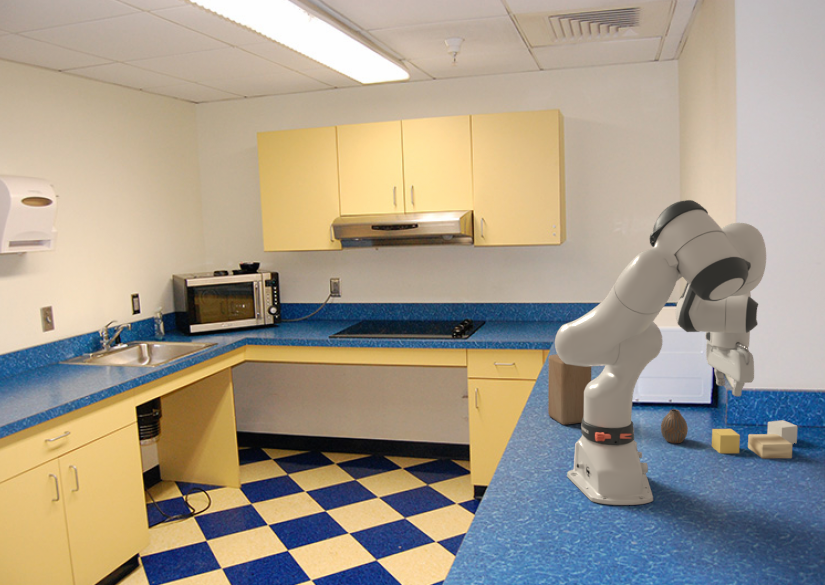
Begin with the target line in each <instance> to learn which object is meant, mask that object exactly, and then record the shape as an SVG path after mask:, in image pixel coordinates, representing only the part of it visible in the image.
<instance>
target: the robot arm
mask: <svg viewBox="0 0 825 585" xmlns="http://www.w3.org/2000/svg"><path fill="white" fill-rule="evenodd" d="M652 228H653V229H652V232H650V235H649V244H650V246H651V247H652V248H650V249H646V250H643V251H642V252H641V251H640V252H639V253H637V255H636V256H635V257H633V258H632V259H631V261H630V262H628V263H627V265H626V266H625V267H624V269H622V271H621V272H620V274H619V275H618V277H617V278H616V281H615V282H614V284H613V285H612V287H611V289H610V290H609V292H608V293H607V294H606V297H605V298H604V299H603V300H602V301H601V302H600V303H599V304H598V305H596V306H595V307H594V308H593V309H591V310H589V311H588V312H587V313H585V314H584V315H582V316H580V317H578V318H576V319H575V320H573V321H569V322H567V323H564V324H562V325H561V326H560V328H559V329H558V330H557V333H556V335H555V339H554V348H555V351H556V354H558V356H559V357H560V359H561V360H562V361H563V362H564V363H565V364H569V365H575V366H583V367H589V366H591V367H602V366H604V368H603V370H602V371H600V372H601V373H600V374H599V375H598V376H597V377H595V378H594V379H591V381H590V382H589V383H588V384H587V386H586V388H585V390H584V417H583V418H582V423H580V424H581V425H580V428H581V429H580V430H581V431H580V432H581V434H582V435H581V436H580V438H579V439H578V440H577V441H576V442H575V444H574V445H575V446H574V460H573V469H571V470H568V471H567V475H566V476H567V478H568V479H569V480H570V481H571V482H572V483H573V484H574V485H575V486H576V487H577V488H578V489H579V490H580V491H581V492H582V493H583V495H585V496H586V498H588V499H589V500H590V501H591V502H593V503H598V504H603V505H613V506H629V505H630V506H634V505H644V504H648V503H651V502H653V501H654V496H653V492H652V490H651V489H652V488H651V486H650V483H649V480H648V476H647V474H648V473H649V472H648V471H649V469H648V468H649V466H648V462H643V461H642V462H641V459H642V458H643V452H642V451H638V443H637V441H636V440H635V428H634V423H633V420H632V415H633V414H632V409H633V398H634V397H633V396H634V390H635V388H636V384H637V382H638V380H639V377H640V376H641V374H642V373H643V371H644V370H645V368H646V367H647V366H648V365H649V364H650V363H651V362H652V361H653V360H654V359H656V358H657V357H658V356H659V354H660V352H661V350H662V347H663V342H664V341H663V335H662V332H661V330H660V328H659V326H658V325H657V324H656V323H655V322H654V321H655V319H656V318H657V317H658V315H659V313H660V312H662V309H663V308H664V307H665V305H666V304H667V302H668V301H669V299H670V297H671V295H672V293H673V291H674V289H675V287H676V283H677V282H678V281H679V280H680V279H681V278H683V279H684V280H685V281H686V284H685V286H684V289H683V292H682V295H681V296H680V297H679V299H678V301H677V304H676V307H675V319H676V322H677V323H676V324H677V325H678V326H679V327H680V328H681V329H682V330H684V331H685V332H686V333H700V332H701V333H703V332H705V334H704V338H705V340H706V344H705V345H706V346H705V347H706V350H705V351H706V352H705V354H706V362H707V364H708V366H710V367H712V368H714V375H715V380H716V381H715V384H716V385H717V386H719V387H724V386H725V385H726V379H725V375H726V376H728V377H729V378H731V379H732V380H733V383H734V384H733V387H731V394H732V395H733V396H735V397H741V396H742V392H743V391H742V390H743V388H744V386H745V384H746V383H747V384H748V383H753V382H754V379H755V361H754V355H753V353H751V351H750V350H749V348H750V338H751V337H750V335H751V331H752V330H754V329H755V328H756V327H757V326H758V320H757V319H758V318H757V316H758V307H759V303H758V302H757V301H756V300H754V298H752V297H751V296H752V295H751V294H752V292H751V291H753V290H754V289H756V288H757V286H759V284H760V283H761V281H762V280H763V277H764V275H765V270H766V265H767V249H766V242H765V239H764V236H763V235H762V233H761V231H760V230H759V229H758V228H756V227H755V226H753V225H752V224H749V223H746V222H745V223H744V222H734V223H733V222H732V223H730V224H727V225H725V226H723V227H721V226H720V225H719V224H718V223H717V222H716V221H715V220H714V219H713V217H711V216H710V214H709V212H708V210H707V209H706V208H705V207H704V206H702V205H701V204H700V203H698V202H697V201H695V200H692V199H688V200H687V199H685V200H680V201H677V202H674V203H673V204H670V205H669V206H667V207H666V208H665V209H663V211H662V212H661V213H660V214H659V215H658V217H657V218H656V221H655V223H654V225H653V227H652Z"/></svg>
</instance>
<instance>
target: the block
mask: <svg viewBox="0 0 825 585" xmlns="http://www.w3.org/2000/svg"><path fill="white" fill-rule="evenodd" d="M547 378H548V390H547V391H548V392H547V393H548V395H547V396H548V401H547V402H548V404H547V408H548V409H547V411H548V412H547V414H548V416H549V418H551V419H553V420H554V421H556V422H558V423H559V424H561V425H563V426H565V425H566V426H567V425H575V424H581V423H582V418H583V417H584V390H585V388H586V386H587V384H588V383H589V382H590V381H592V366H589V367H583V366H575V365H569V364H565V363H564V362H563V361H562V360H561V359H560V357H559V356H558V354H557V353H555V354H551V355H548V377H547Z"/></svg>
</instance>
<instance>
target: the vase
mask: <svg viewBox="0 0 825 585" xmlns="http://www.w3.org/2000/svg"><path fill="white" fill-rule="evenodd" d="M688 428H689V427H688V423H687V420H686V419H685V418H684V416H683V415H682V414H681V411H680V410H679V409H675V408H674V409H673V408H672V409H669V411H668V413H667V414H665V416H664V417H663V419H662V421H661V424H660V431H661V435H662V437H663V439H664V440H665V441H666V442H669V443H670V444H681V443H682V442H684V440H685V439H686V438H687V435H688V431H689V430H688Z"/></svg>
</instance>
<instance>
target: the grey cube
mask: <svg viewBox="0 0 825 585" xmlns="http://www.w3.org/2000/svg"><path fill="white" fill-rule="evenodd" d="M766 432H767V433H766V434H778V435H779V436H781V437H782V438H784V439H785V440H787V441H788V442H790V443H791V444H792V445H794V443H795V444H798V443H797V441H798V425H796V424H793V423H792V422H788V421H786V420H783V419H782V420H773V421H767V431H766Z"/></svg>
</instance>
